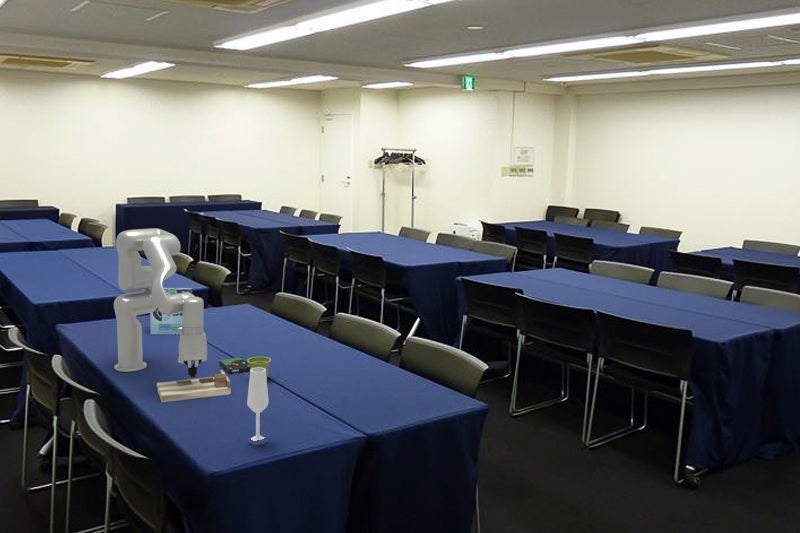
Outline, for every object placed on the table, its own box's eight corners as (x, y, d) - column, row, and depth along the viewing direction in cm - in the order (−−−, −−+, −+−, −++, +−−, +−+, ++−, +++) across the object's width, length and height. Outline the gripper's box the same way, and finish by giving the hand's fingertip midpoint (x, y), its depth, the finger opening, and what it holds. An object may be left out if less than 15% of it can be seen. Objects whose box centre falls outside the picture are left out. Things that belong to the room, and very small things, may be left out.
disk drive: (252, 372, 286) (242, 362, 298) (252, 366, 285) (242, 356, 298) (228, 376, 280) (218, 365, 293) (228, 369, 280) (218, 359, 292)
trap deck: (156, 389, 261) (156, 376, 260) (222, 381, 271) (222, 369, 271) (161, 402, 247) (161, 389, 246) (230, 394, 258) (230, 381, 257)
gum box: (150, 335, 333) (149, 289, 330) (152, 332, 338) (151, 287, 334) (191, 334, 337) (190, 289, 333) (192, 332, 342) (192, 287, 338)
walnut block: (214, 384, 261) (214, 374, 260) (224, 383, 262) (224, 373, 262) (215, 387, 257) (215, 377, 257) (226, 386, 259) (226, 376, 258)
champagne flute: (242, 443, 216) (242, 371, 212) (254, 435, 222) (254, 365, 218) (261, 447, 214) (261, 374, 210) (272, 439, 220) (272, 368, 216)
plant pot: (242, 382, 272) (242, 361, 271) (255, 375, 281) (255, 355, 279) (262, 385, 269) (263, 364, 268) (275, 378, 278) (275, 358, 276)
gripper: (173, 334, 248) (173, 381, 251) (215, 331, 254) (214, 377, 258) (170, 328, 254) (170, 374, 258) (211, 325, 261) (210, 371, 264)
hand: (192, 376), depth 258 cm, fingers closed
